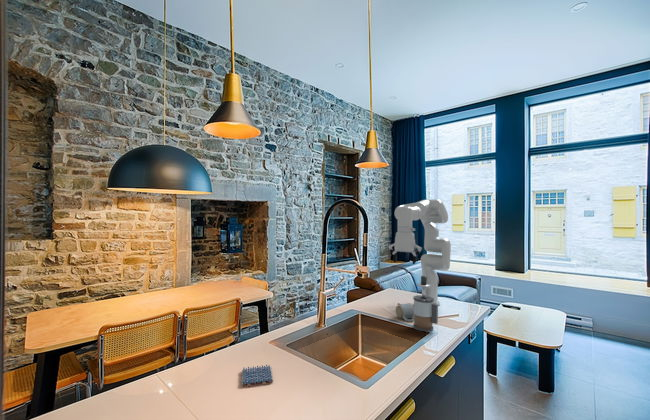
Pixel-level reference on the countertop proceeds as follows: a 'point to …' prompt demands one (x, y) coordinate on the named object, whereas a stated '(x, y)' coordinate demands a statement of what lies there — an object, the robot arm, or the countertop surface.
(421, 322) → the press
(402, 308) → the ceramic mug
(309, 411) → the countertop surface
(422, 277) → the plunger
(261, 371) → the blue-grey spiked square pad
